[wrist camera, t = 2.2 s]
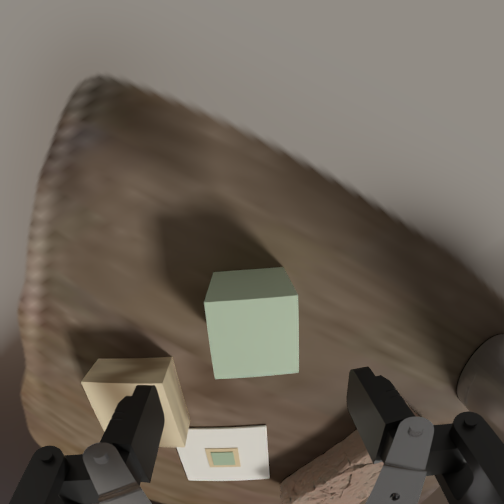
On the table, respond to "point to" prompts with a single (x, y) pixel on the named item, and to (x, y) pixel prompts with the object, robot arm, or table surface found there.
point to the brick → (334, 475)
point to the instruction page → (226, 454)
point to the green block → (252, 323)
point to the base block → (124, 383)
